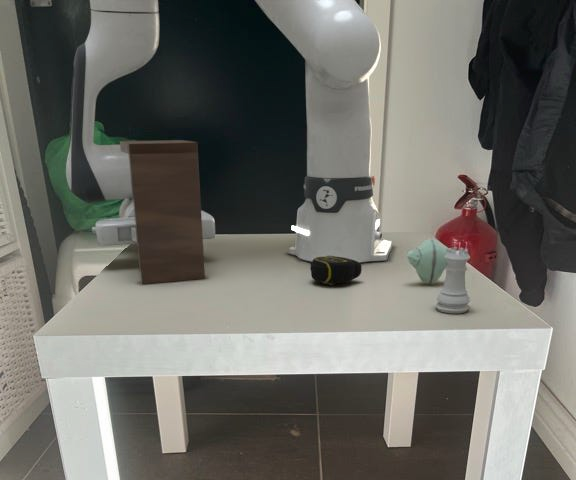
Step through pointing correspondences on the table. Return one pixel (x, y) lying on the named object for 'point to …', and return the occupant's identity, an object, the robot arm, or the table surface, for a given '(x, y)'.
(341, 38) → the robot arm
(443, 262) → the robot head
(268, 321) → the table surface
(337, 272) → the tape measure
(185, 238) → the shelf stand
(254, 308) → the table surface
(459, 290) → the rook chess piece
